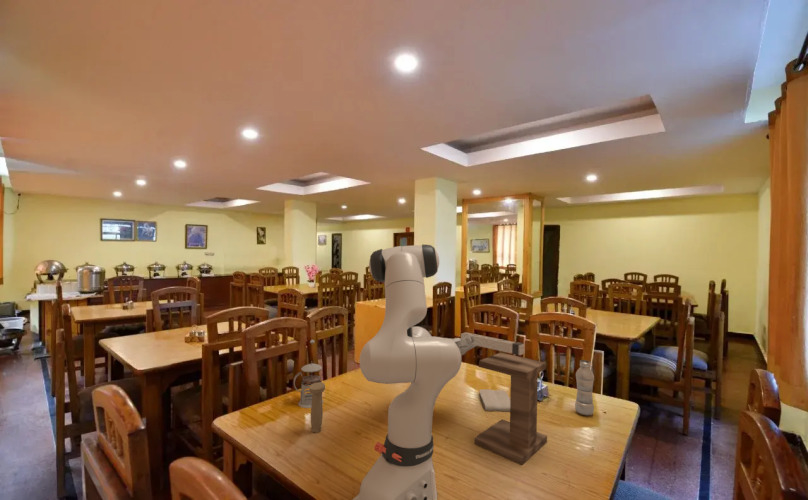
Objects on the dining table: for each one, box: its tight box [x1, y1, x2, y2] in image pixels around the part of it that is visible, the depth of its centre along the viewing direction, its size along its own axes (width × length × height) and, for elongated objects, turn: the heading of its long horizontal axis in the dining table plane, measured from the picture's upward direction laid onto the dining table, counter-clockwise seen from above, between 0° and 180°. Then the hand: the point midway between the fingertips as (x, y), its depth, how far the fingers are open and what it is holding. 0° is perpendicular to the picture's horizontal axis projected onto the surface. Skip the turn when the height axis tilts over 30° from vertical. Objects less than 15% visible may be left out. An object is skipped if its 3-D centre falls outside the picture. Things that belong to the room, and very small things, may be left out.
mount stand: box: [473, 351, 548, 466], centre depth 114 cm, size 18×16×26 cm
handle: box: [308, 382, 326, 434], centre depth 120 cm, size 5×6×15 cm
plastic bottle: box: [574, 359, 595, 416], centre depth 137 cm, size 6×7×20 cm
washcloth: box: [478, 388, 510, 413], centre depth 146 cm, size 12×18×3 cm, turn 177°
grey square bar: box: [460, 332, 525, 356], centre depth 120 cm, size 3×22×3 cm, turn 47°
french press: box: [293, 339, 324, 409], centre depth 141 cm, size 10×12×25 cm
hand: (474, 338), depth 124 cm, fingers closed on grey square bar, 3 cm apart
